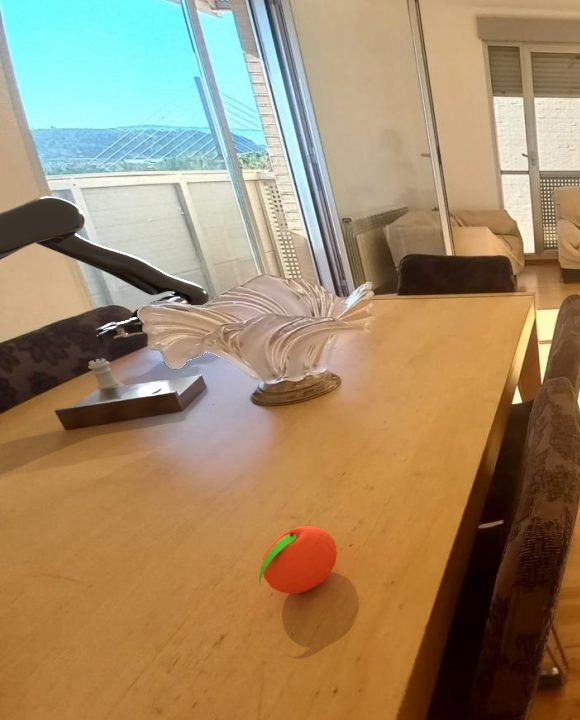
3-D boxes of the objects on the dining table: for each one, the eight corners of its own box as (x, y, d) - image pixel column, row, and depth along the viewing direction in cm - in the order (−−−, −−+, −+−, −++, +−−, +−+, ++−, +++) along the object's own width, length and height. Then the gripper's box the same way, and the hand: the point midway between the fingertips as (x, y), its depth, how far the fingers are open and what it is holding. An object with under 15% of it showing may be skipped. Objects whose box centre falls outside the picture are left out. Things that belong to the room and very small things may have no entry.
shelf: (65, 430, 89) (53, 410, 87) (103, 402, 99) (93, 384, 97) (182, 411, 94) (174, 392, 93) (206, 386, 105) (199, 369, 103)
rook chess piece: (94, 398, 101) (75, 364, 98) (118, 389, 105) (102, 356, 102) (109, 400, 100) (91, 365, 97) (133, 390, 104) (117, 357, 101)
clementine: (299, 623, 49) (277, 572, 46) (248, 609, 51) (225, 559, 48) (357, 564, 56) (341, 517, 53) (311, 553, 58) (294, 507, 55)
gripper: (117, 306, 119) (76, 325, 105) (186, 299, 124) (156, 316, 110) (131, 334, 122) (92, 356, 108) (197, 326, 127) (169, 346, 113)
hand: (124, 336), depth 109 cm, fingers open, 8 cm apart
